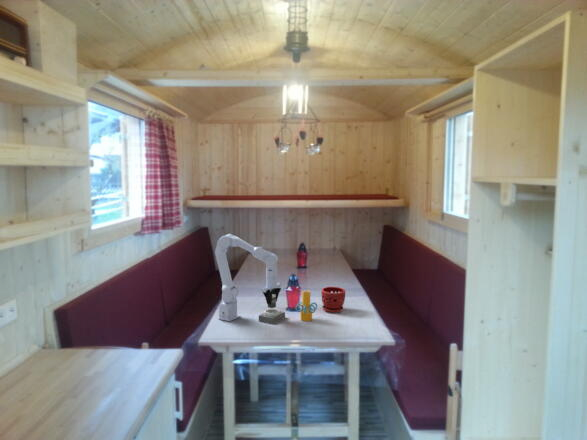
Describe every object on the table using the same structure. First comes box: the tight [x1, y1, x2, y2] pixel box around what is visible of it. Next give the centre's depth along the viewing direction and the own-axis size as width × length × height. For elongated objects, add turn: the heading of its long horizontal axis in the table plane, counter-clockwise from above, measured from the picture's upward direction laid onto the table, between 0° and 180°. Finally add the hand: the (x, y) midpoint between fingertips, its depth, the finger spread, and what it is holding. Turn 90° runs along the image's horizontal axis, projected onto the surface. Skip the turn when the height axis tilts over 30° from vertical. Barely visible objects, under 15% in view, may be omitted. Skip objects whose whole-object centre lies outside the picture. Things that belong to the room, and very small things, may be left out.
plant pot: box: [321, 286, 346, 314], centre depth 240 cm, size 13×13×12 cm
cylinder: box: [294, 289, 318, 322], centre depth 225 cm, size 12×10×15 cm
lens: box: [267, 294, 277, 309], centre depth 225 cm, size 5×5×6 cm
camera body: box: [258, 308, 286, 325], centre depth 226 cm, size 12×8×4 cm
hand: (271, 302), depth 225 cm, fingers closed on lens, 5 cm apart
